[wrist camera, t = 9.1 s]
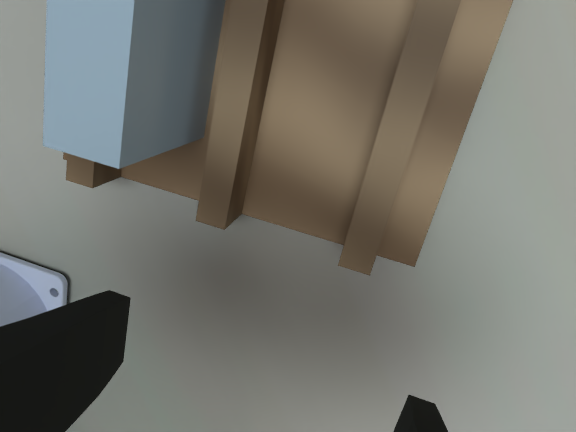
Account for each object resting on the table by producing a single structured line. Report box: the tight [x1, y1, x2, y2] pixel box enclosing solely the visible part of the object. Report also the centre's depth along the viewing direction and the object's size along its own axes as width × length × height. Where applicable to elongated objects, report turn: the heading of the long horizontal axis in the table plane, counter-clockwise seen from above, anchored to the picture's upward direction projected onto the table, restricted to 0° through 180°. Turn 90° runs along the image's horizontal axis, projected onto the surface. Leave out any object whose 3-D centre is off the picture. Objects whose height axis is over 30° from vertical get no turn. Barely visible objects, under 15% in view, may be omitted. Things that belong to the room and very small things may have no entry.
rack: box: [63, 0, 513, 275], centre depth 16 cm, size 15×16×3 cm
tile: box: [43, 0, 226, 169], centre depth 14 cm, size 9×2×6 cm, turn 167°
